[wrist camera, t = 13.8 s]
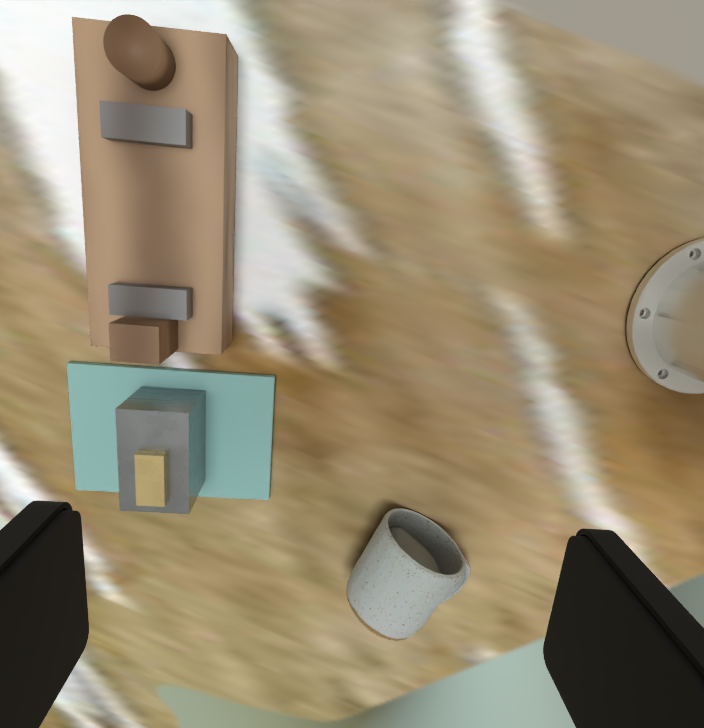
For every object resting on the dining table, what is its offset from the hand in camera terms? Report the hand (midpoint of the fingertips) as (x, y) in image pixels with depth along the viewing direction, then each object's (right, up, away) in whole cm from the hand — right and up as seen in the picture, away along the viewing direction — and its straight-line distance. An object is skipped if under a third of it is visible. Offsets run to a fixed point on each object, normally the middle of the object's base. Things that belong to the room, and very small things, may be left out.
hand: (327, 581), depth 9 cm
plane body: (-13, +16, +26) cm, 33 cm away
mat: (-14, -1, +31) cm, 34 cm away
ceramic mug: (+6, -13, +36) cm, 38 cm away
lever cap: (-14, -2, +31) cm, 34 cm away
